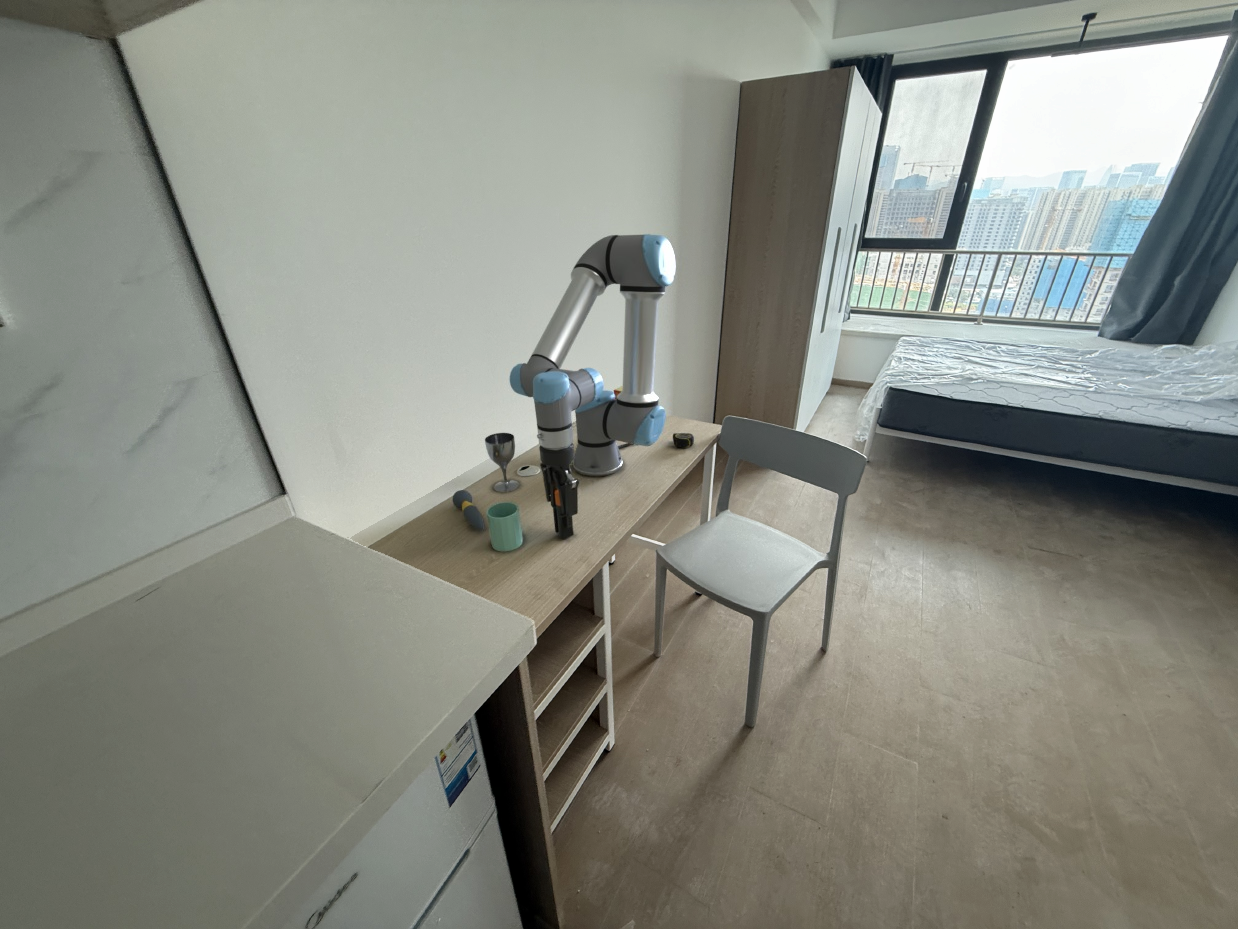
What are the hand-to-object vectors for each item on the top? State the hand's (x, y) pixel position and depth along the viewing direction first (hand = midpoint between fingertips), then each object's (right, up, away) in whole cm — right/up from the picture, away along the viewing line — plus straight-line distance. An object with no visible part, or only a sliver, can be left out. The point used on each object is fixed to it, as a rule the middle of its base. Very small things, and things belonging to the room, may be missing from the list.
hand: (564, 533), depth 116 cm
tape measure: (+34, +23, +47) cm, 62 cm away
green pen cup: (-13, -2, -2) cm, 14 cm away
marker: (0, 0, 0) cm, 1 cm away
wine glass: (-19, +10, +23) cm, 32 cm away
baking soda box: (+17, +29, +60) cm, 69 cm away
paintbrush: (-25, +3, +9) cm, 27 cm away
